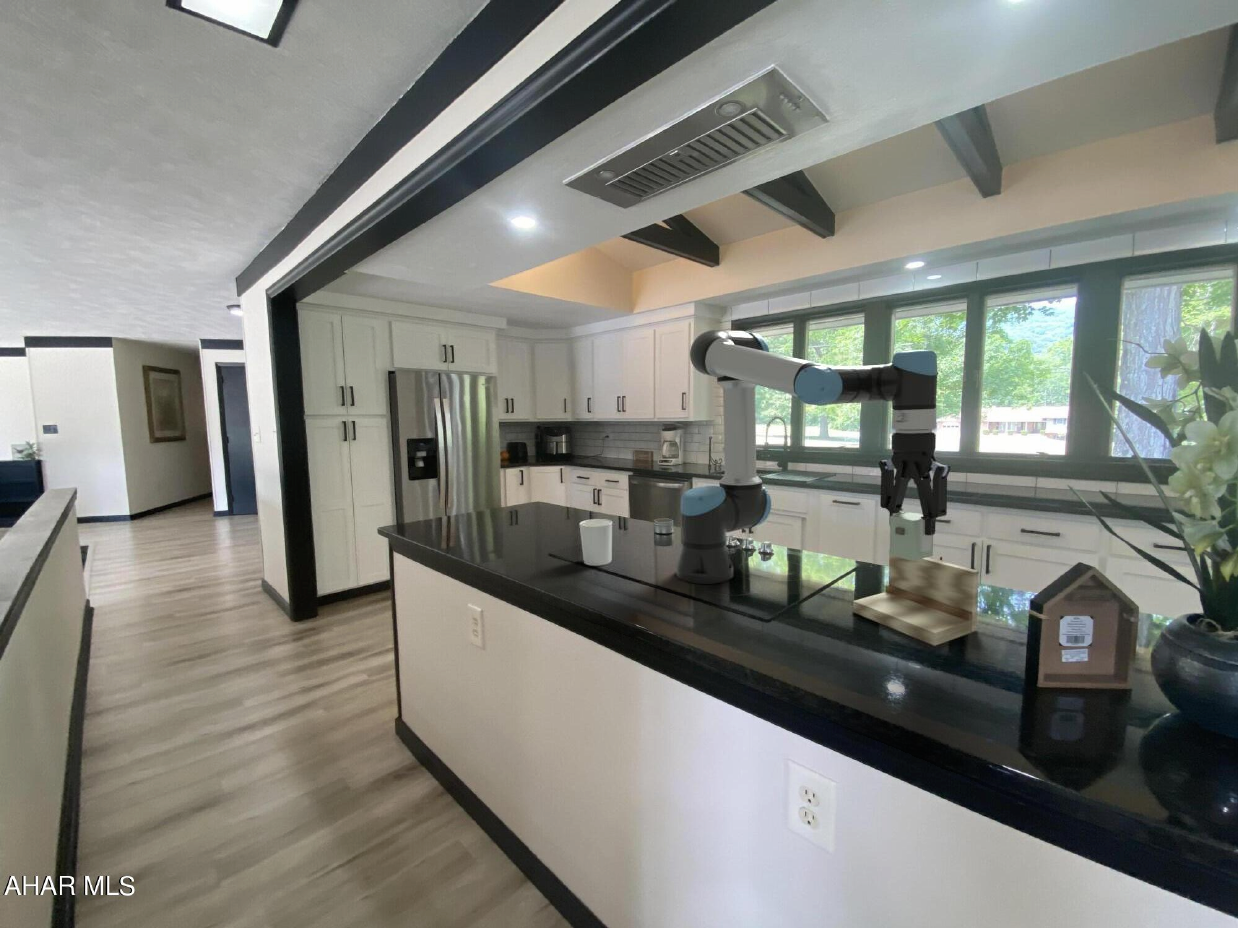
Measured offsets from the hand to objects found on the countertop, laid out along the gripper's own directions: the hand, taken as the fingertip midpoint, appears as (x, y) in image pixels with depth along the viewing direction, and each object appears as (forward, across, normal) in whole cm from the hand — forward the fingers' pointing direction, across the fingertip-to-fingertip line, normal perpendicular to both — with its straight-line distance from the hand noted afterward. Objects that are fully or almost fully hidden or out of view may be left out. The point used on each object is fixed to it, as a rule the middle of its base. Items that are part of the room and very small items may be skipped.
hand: (911, 546), depth 104 cm
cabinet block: (+2, 0, 0) cm, 2 cm away
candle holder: (+16, -73, -38) cm, 84 cm away
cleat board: (+16, 0, +2) cm, 16 cm away
